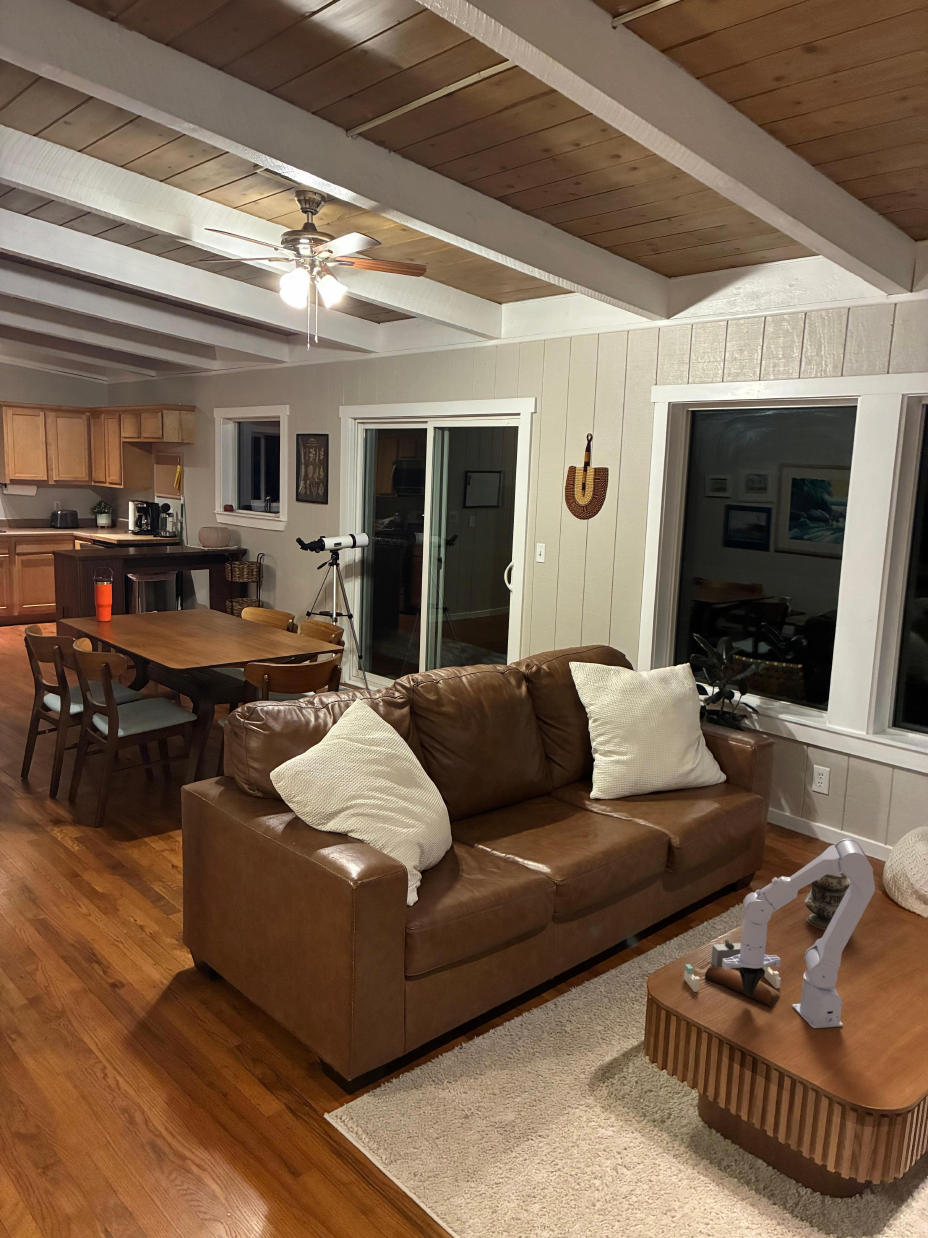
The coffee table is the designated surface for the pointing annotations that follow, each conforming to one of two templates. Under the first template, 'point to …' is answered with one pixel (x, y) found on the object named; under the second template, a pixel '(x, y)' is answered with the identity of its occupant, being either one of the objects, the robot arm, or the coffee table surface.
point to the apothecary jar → (825, 899)
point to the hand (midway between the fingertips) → (748, 994)
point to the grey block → (724, 952)
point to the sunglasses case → (735, 982)
